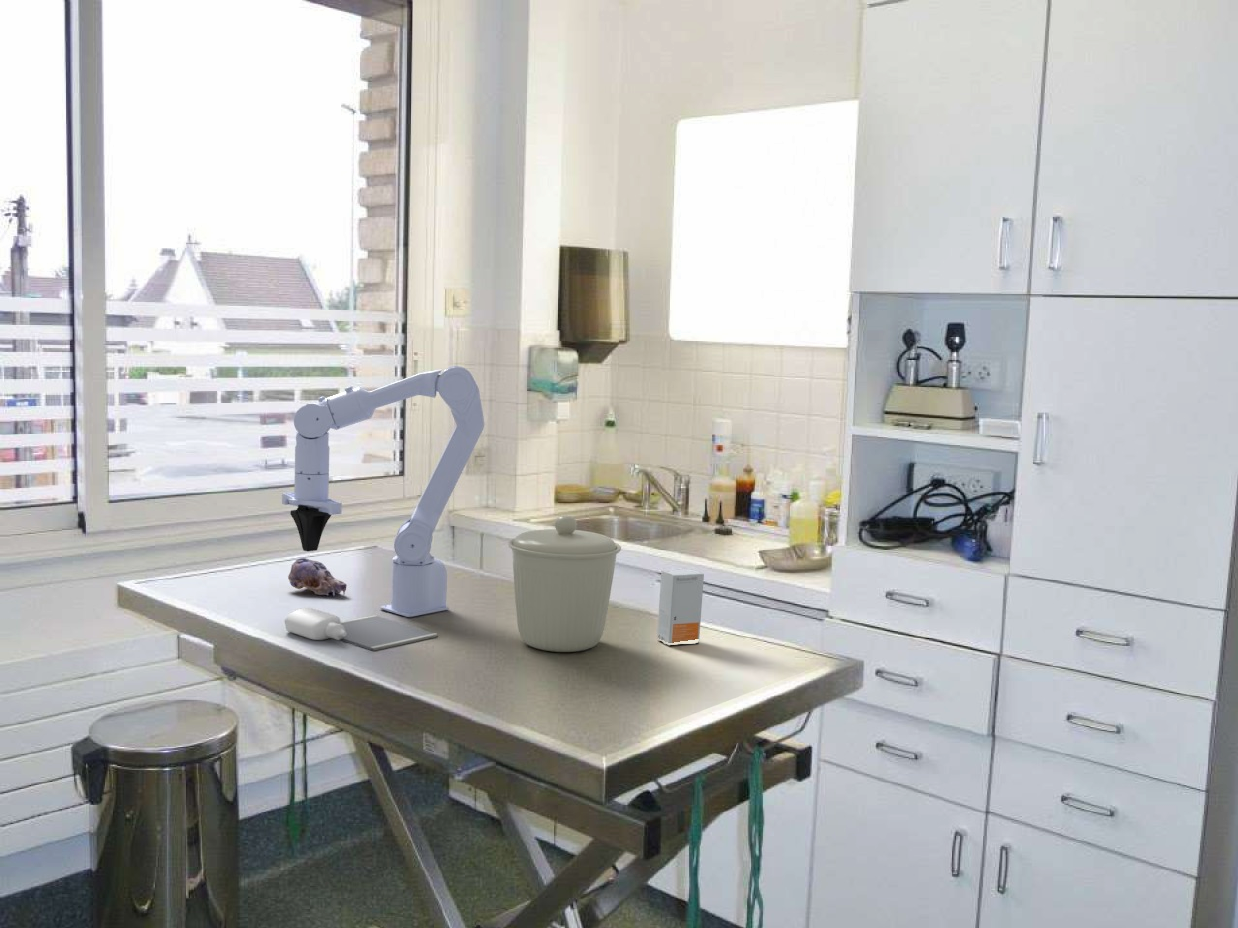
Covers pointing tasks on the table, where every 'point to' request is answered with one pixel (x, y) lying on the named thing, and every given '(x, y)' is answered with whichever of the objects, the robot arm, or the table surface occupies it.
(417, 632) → the mat
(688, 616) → the skincare box
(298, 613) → the eye dropper bottle
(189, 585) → the table surface
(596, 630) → the canister
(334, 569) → the table surface
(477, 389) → the robot arm
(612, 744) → the table surface
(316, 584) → the skull
